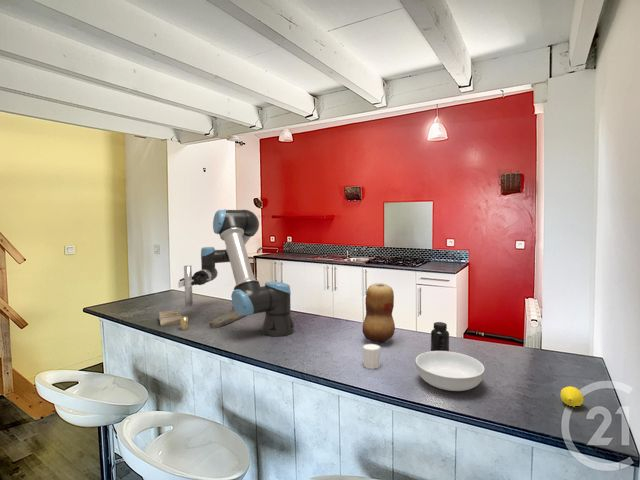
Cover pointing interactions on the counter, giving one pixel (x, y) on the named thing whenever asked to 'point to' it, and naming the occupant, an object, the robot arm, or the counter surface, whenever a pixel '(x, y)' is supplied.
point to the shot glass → (371, 355)
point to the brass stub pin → (184, 323)
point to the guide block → (169, 317)
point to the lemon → (571, 396)
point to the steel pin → (189, 290)
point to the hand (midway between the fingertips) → (183, 284)
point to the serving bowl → (449, 370)
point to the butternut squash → (379, 313)
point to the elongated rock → (225, 319)
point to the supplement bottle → (440, 337)
